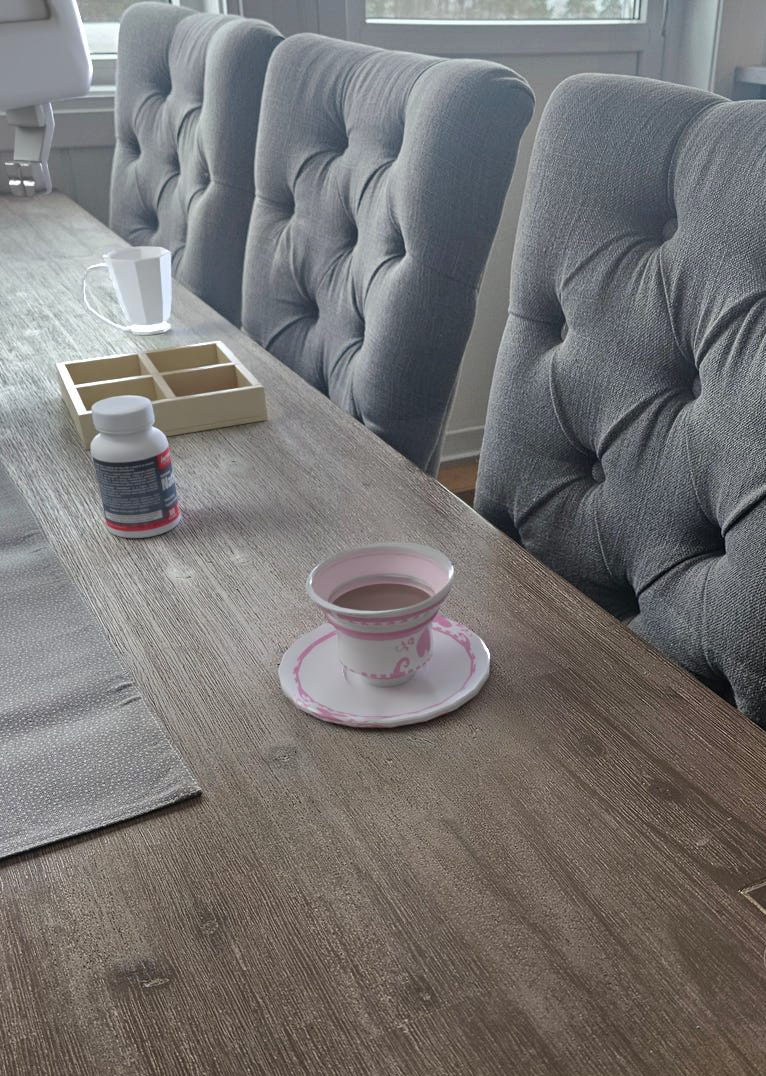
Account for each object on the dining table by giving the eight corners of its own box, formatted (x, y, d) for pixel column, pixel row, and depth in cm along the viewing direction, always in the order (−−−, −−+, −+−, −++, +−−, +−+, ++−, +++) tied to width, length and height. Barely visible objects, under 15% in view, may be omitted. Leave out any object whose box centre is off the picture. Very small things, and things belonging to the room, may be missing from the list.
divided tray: (61, 394, 105) (54, 363, 104) (225, 370, 111) (221, 340, 109) (85, 450, 93) (78, 415, 92) (268, 420, 99) (264, 386, 97)
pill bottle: (184, 534, 79) (162, 413, 75) (107, 544, 78) (81, 422, 73) (179, 505, 84) (158, 388, 79) (106, 514, 82) (81, 396, 78)
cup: (181, 336, 121) (168, 258, 117) (85, 342, 120) (69, 264, 115) (184, 318, 127) (172, 244, 122) (93, 324, 125) (77, 249, 121)
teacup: (419, 757, 57) (413, 653, 54) (234, 695, 62) (218, 597, 59) (527, 647, 66) (528, 552, 62) (358, 601, 71) (350, 511, 67)
